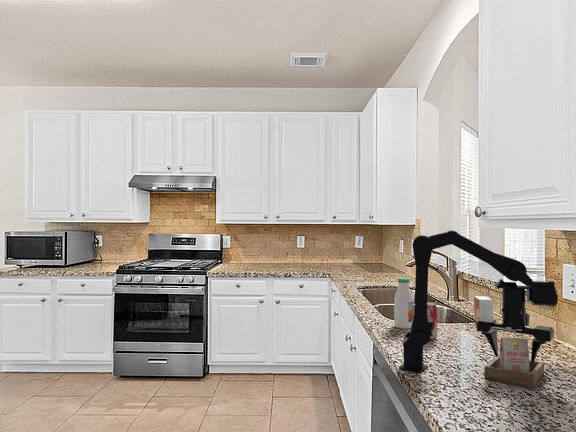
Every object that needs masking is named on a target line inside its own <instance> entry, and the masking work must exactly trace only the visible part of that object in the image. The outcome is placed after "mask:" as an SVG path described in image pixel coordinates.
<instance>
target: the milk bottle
mask: <svg viewBox="0 0 576 432" xmlns="http://www.w3.org/2000/svg"><path fill="white" fill-rule="evenodd" d="M397 284H398V285H397V288H396V289H397V290H396V292H395V294H394V303H393V305H394V306H393V307H394V309H393V311H394V314H393V315H394V327H395V328H398V329H404V330H406V329H407V330H408V329H409V330H410V328H411V324H412V319H413V315H414V310H415V302H414V296H413V294H412V291H411V289H410V278H409V277H398V278H397Z"/></svg>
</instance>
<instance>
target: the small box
mask: <svg viewBox="0 0 576 432" xmlns="http://www.w3.org/2000/svg"><path fill="white" fill-rule="evenodd" d="M483 318H486V319H494V299H491V298H490V297H488V296H483V295H482V296H481V295H474V296H473V320H474V321H475V322H476V323H477V322H478V321H479V320H481V319H483Z"/></svg>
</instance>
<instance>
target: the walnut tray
mask: <svg viewBox="0 0 576 432" xmlns="http://www.w3.org/2000/svg"><path fill="white" fill-rule="evenodd" d="M483 368H484V369H483V370H484V371H483V372H484V380H487V381H492V382H496V383H500V384H505V385H509V386H514V387H518V388H523V389H527V390H530V391H531V390H532V391H534V390H535V388H536V387H537V386H538V384H539V383H540V381H541V380H542V379H543V377H544V376H545V362H543V361H538V360H535V361H534V363H533V364H532V363H531V359H529V374H525V373H520V372H515V371H510V370H505V369H500V353H498V357H496V356H494V358H492V359H491V360H490V361H489V362H488V363H487V364H486V365H485V366H484V367H483Z"/></svg>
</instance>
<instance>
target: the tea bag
mask: <svg viewBox="0 0 576 432" xmlns="http://www.w3.org/2000/svg"><path fill="white" fill-rule="evenodd" d="M499 341H500V343H499V354H500V369H505V370H510V371H515V372H520V373H525V374H529V360H530V353H529V352H530V351H529V342H528V338H514V337H500V340H499Z"/></svg>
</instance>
